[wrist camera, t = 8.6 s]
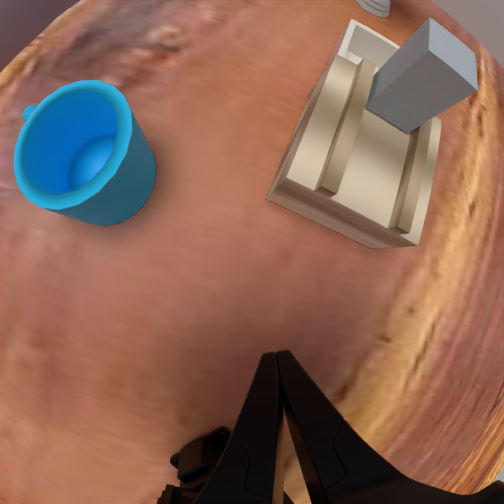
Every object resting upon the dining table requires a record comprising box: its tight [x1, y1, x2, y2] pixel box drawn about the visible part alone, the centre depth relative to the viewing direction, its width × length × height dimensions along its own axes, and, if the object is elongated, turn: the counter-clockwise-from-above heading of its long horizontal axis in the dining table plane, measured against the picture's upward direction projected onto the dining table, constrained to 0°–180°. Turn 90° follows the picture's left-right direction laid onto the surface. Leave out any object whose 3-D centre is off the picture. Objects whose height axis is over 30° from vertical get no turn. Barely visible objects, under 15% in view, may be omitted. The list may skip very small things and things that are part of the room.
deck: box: [266, 54, 442, 249], centre depth 21 cm, size 11×10×8 cm
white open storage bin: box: [323, 19, 400, 75], centre depth 23 cm, size 8×9×4 cm
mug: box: [14, 80, 156, 226], centre depth 18 cm, size 12×8×8 cm
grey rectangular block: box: [366, 17, 478, 133], centre depth 14 cm, size 4×4×8 cm
